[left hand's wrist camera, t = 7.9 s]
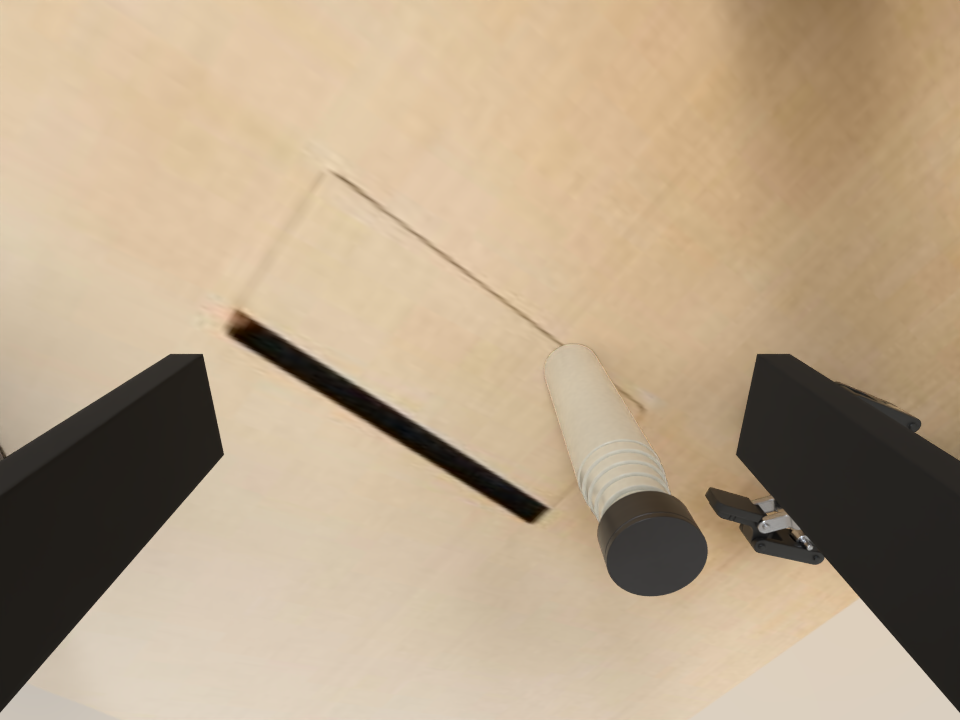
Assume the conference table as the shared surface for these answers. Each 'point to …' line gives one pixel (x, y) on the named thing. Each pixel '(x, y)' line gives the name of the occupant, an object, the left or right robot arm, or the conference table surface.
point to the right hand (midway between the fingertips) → (738, 452)
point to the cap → (651, 543)
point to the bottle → (599, 431)
